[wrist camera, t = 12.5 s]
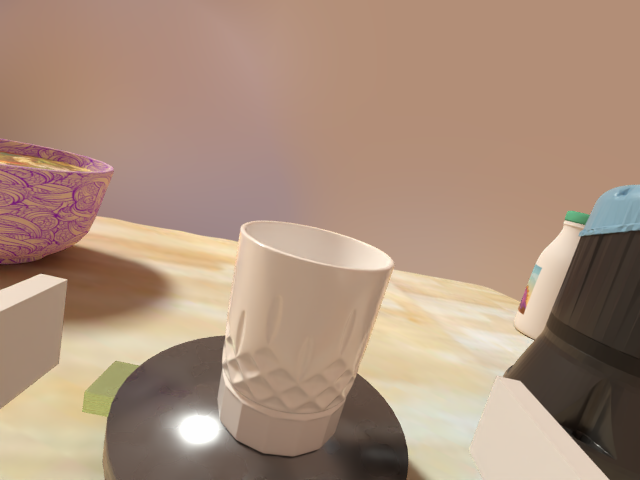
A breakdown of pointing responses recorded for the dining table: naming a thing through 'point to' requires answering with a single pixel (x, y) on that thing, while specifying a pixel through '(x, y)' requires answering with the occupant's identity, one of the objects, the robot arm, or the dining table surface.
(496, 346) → the dining table surface
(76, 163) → the bowl of food
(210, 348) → the stand
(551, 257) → the milk bottle
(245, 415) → the white cup
